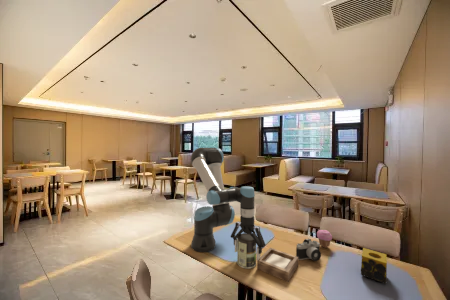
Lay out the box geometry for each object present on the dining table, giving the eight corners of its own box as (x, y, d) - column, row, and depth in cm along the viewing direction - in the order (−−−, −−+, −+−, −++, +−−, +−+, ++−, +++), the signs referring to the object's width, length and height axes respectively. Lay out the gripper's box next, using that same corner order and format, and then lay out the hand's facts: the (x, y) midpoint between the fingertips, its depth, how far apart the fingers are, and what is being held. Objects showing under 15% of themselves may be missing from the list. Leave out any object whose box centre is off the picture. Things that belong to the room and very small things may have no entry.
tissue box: (361, 265, 104) (362, 247, 104) (386, 273, 98) (386, 253, 98) (360, 275, 96) (360, 255, 96) (386, 284, 90) (387, 263, 90)
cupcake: (327, 250, 119) (327, 234, 118) (314, 245, 126) (314, 229, 125) (334, 246, 124) (334, 231, 124) (321, 241, 131) (321, 226, 131)
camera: (303, 265, 104) (303, 246, 104) (293, 255, 113) (293, 238, 113) (326, 260, 108) (327, 243, 108) (315, 252, 117) (315, 235, 117)
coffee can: (256, 258, 109) (256, 233, 109) (255, 270, 99) (256, 242, 99) (238, 256, 111) (238, 232, 111) (235, 267, 101) (236, 240, 101)
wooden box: (257, 268, 100) (257, 260, 100) (270, 255, 113) (270, 247, 113) (288, 281, 91) (288, 272, 90) (298, 265, 103) (298, 257, 103)
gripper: (224, 213, 109) (224, 250, 109) (265, 222, 95) (265, 266, 94) (232, 209, 115) (232, 245, 115) (271, 218, 101) (271, 259, 100)
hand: (247, 255), depth 105 cm, fingers open, 13 cm apart
